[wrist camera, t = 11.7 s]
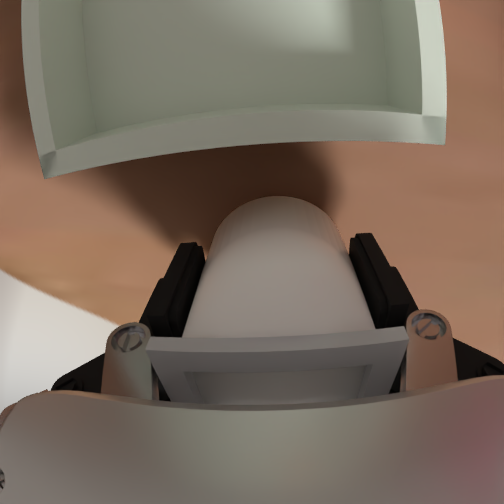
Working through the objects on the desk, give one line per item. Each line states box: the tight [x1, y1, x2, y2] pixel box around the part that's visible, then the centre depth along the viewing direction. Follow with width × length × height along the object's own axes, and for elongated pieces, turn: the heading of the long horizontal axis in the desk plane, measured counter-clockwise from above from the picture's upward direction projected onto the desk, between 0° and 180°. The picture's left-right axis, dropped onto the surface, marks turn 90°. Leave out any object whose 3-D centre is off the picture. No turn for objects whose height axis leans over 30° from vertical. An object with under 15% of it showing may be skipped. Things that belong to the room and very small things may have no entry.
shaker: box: [145, 196, 409, 405], centre depth 9 cm, size 5×5×7 cm
